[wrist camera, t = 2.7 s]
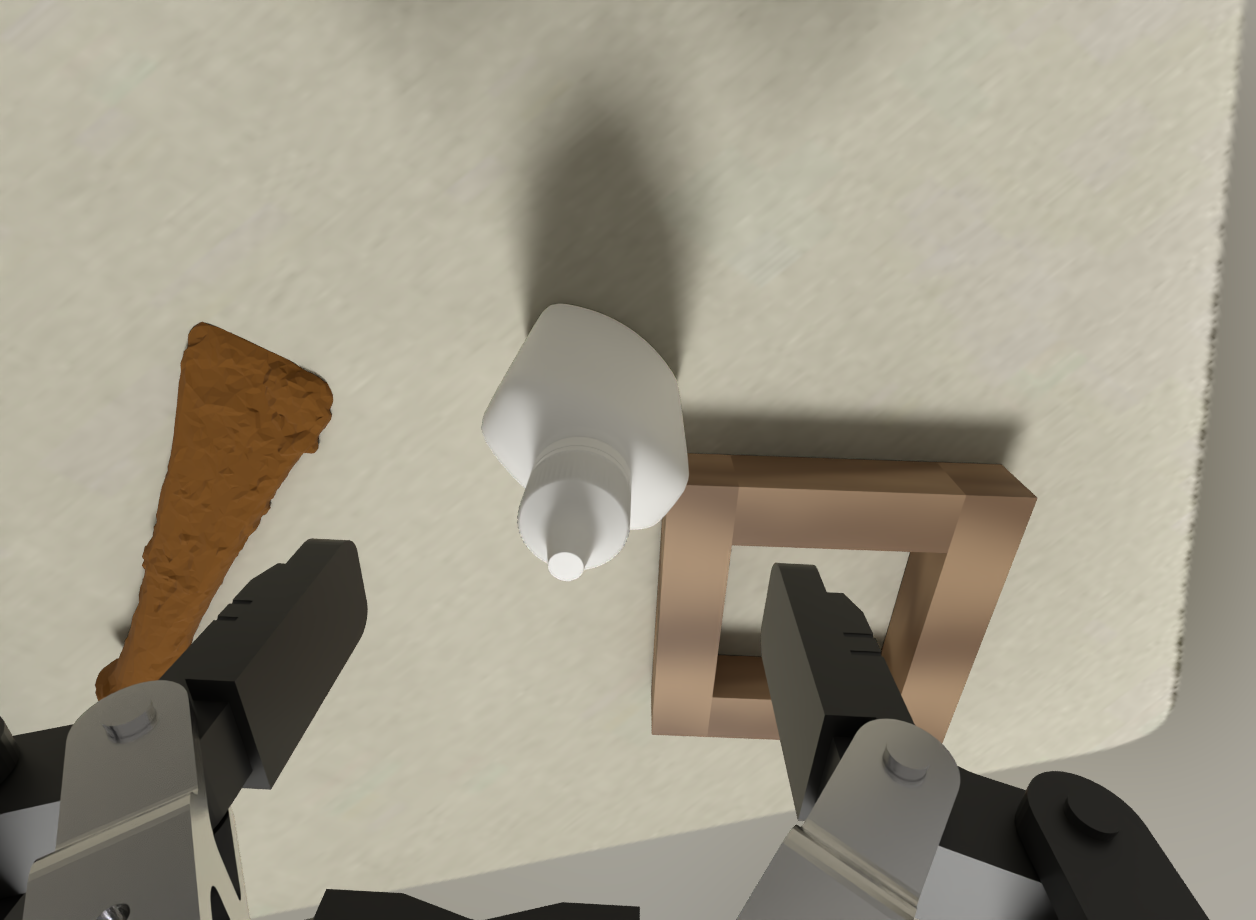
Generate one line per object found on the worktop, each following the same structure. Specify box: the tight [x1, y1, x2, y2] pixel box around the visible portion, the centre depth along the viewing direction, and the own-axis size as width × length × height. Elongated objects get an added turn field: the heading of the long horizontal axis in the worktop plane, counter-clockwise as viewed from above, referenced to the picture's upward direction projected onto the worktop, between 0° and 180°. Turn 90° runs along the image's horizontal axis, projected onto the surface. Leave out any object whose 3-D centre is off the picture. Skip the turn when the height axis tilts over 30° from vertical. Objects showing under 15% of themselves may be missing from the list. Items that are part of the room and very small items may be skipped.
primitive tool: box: [95, 322, 333, 701], centre depth 26 cm, size 19×6×4 cm, turn 151°
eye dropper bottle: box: [481, 303, 689, 581], centre depth 17 cm, size 4×6×12 cm
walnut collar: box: [651, 453, 1037, 743], centre depth 26 cm, size 13×13×2 cm
